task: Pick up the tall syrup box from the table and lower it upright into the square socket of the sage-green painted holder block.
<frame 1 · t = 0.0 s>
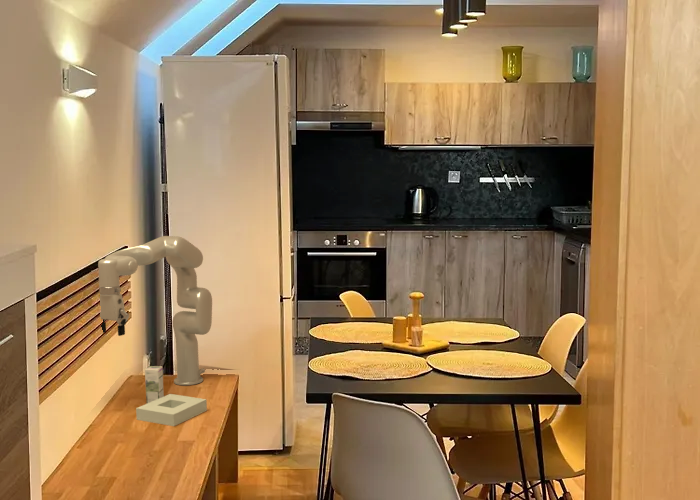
hand: (112, 334, 316), 31 cm above the table, tool pointing down, fingers open, 9 cm apart
socket holder: (172, 414, 315), on the table
syrup box: (155, 402, 332), on the table
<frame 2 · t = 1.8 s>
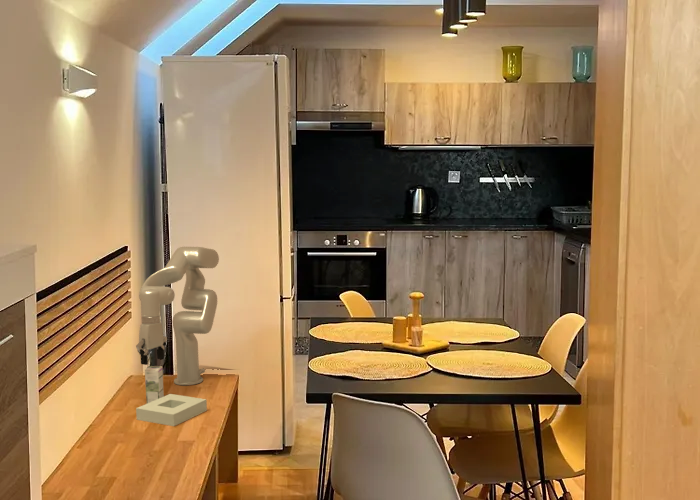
hand: (152, 361, 329), 17 cm above the table, tool pointing down, fingers open, 9 cm apart
nothing on the table moved.
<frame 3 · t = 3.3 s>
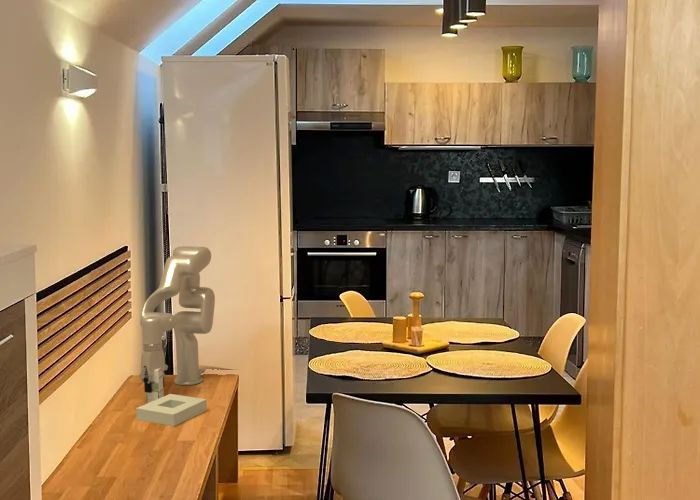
hand: (154, 389, 331), 5 cm above the table, tool pointing down, fingers closed on syrup box, 7 cm apart
syrup box: (155, 402, 332), on the table, touching gripper
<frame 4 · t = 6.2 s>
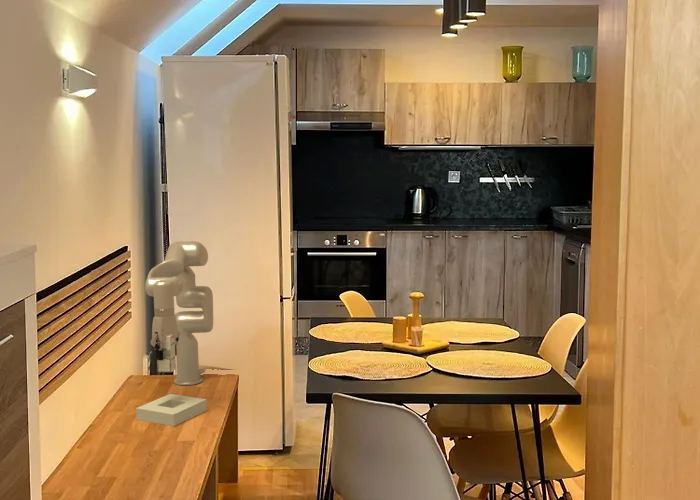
hand: (166, 357, 315), 22 cm above the table, tool pointing down, fingers closed on syrup box, 7 cm apart
syrup box: (166, 371, 316), point 17 cm above the table, touching gripper
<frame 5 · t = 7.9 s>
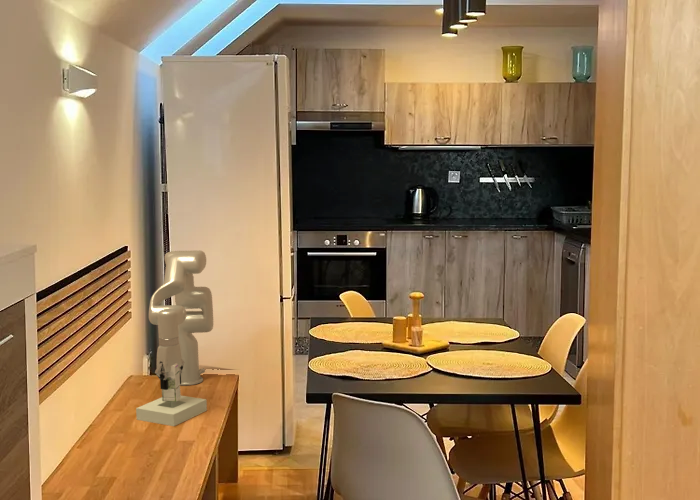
hand: (171, 386, 314), 11 cm above the table, tool pointing down, fingers closed on syrup box, 7 cm apart
syrup box: (171, 400, 315), point 6 cm above the table, touching gripper
when the fingers open (7 cm above the table, at t = 9.5 s): syrup box drops 1 cm, resting in socket holder.
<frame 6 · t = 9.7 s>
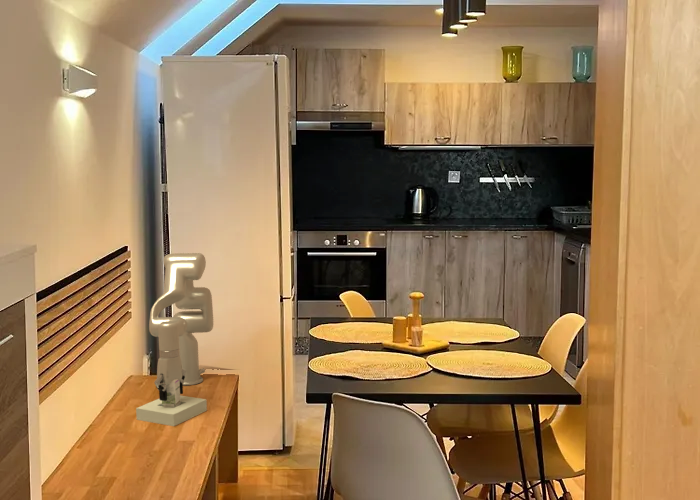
hand: (171, 396, 314), 7 cm above the table, tool pointing down, fingers open, 9 cm apart
syrup box: (171, 415, 315), resting in socket holder
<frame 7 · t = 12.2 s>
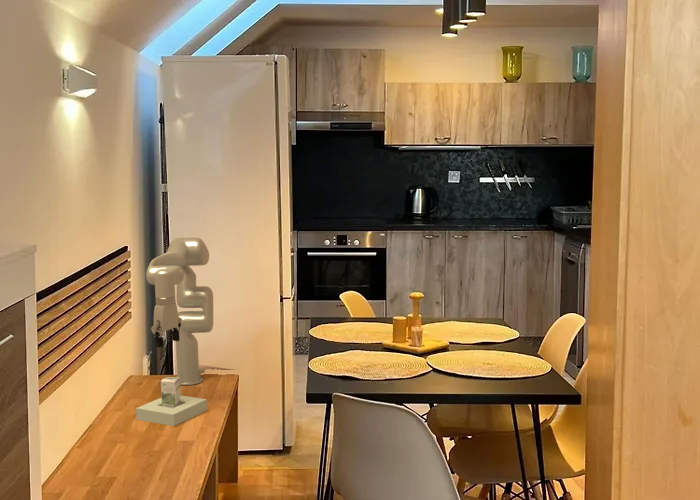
hand: (167, 343, 318), 27 cm above the table, tool pointing down, fingers open, 9 cm apart
nothing on the table moved.
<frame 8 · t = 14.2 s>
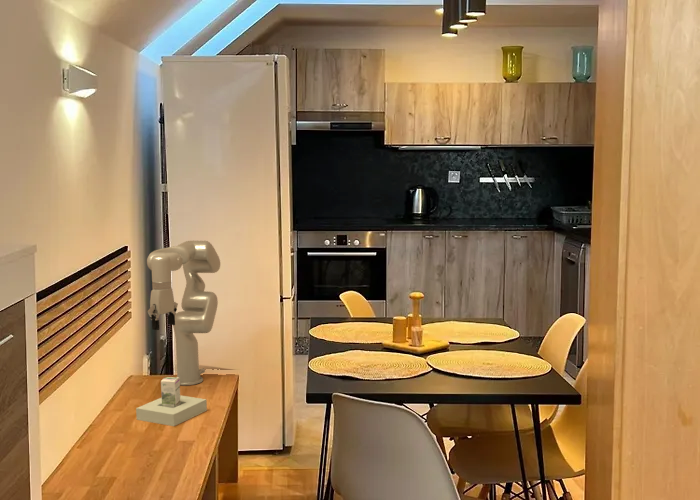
hand: (163, 327, 331), 30 cm above the table, tool pointing down, fingers open, 9 cm apart
nothing on the table moved.
at the end: syrup box 0.1 cm off-centre on the socket holder, point 0.0 cm above the socket holder's base; syrup box tilted 0°; the gripper is holding nothing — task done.
